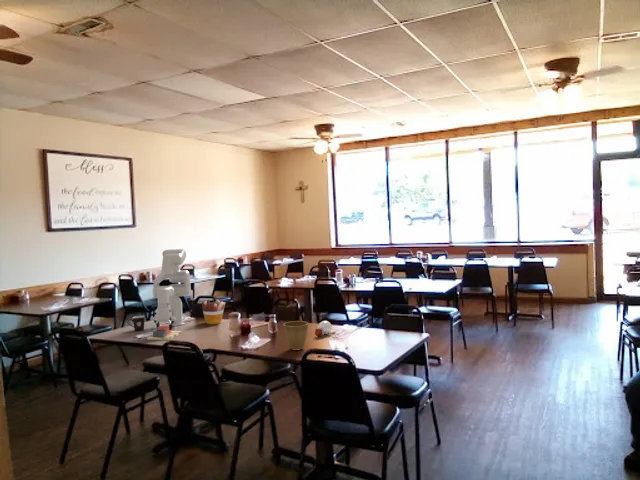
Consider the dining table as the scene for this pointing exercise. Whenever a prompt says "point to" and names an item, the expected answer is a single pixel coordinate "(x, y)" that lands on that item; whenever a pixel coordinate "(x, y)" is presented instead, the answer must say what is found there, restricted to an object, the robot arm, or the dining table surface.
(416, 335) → the dining table surface
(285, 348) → the dining table surface
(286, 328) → the plant pot
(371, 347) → the dining table surface
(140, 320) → the coffee mug
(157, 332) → the coupler nose
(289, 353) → the dining table surface
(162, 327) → the block
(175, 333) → the slatted wooden trivet
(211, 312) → the bucket of meat
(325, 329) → the potion bottle
